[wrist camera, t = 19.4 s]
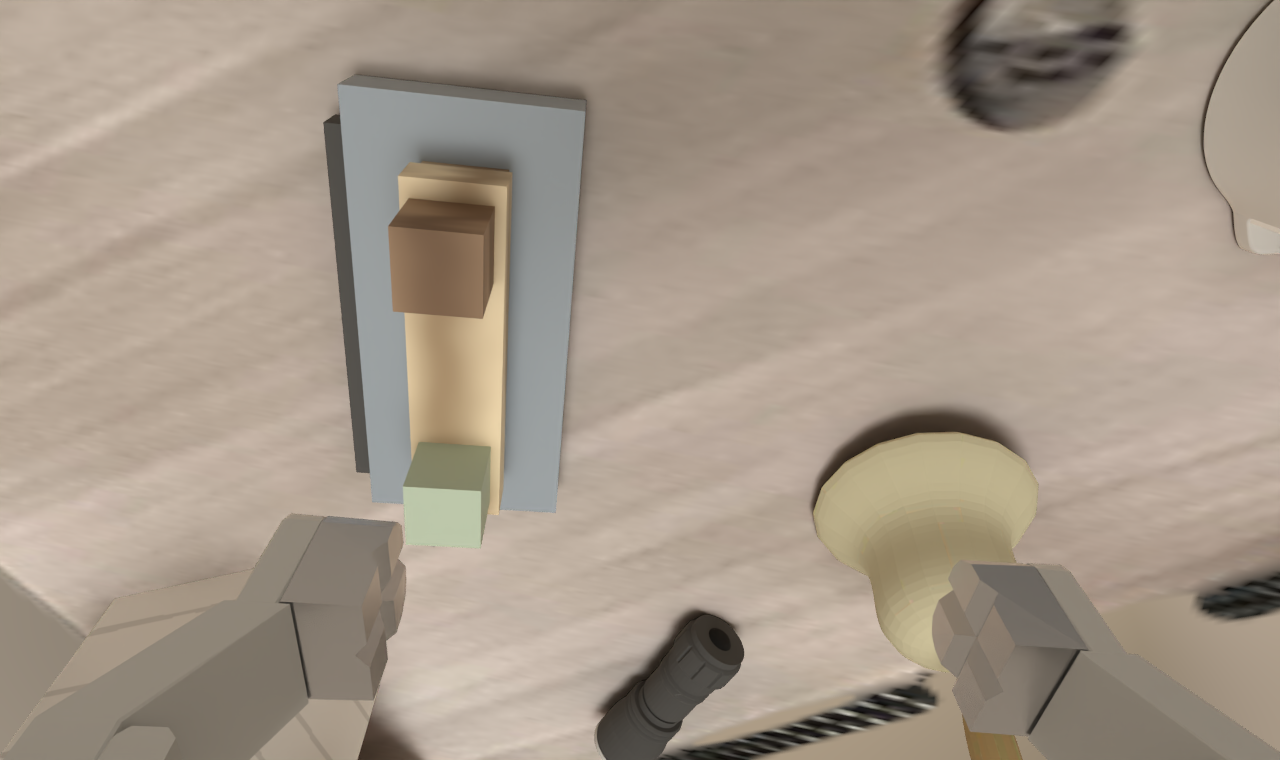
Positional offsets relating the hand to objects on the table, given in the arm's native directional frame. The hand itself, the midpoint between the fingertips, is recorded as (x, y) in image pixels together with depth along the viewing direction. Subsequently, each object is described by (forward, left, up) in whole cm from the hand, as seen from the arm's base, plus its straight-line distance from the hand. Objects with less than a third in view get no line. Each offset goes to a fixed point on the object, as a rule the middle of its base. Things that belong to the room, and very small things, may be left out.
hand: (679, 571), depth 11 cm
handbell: (-24, +25, -34) cm, 49 cm away
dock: (+8, +13, -34) cm, 37 cm away
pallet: (+8, +13, -31) cm, 34 cm away
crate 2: (+8, +20, -27) cm, 34 cm away
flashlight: (-8, +45, -35) cm, 57 cm away
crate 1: (+8, +6, -27) cm, 29 cm away
